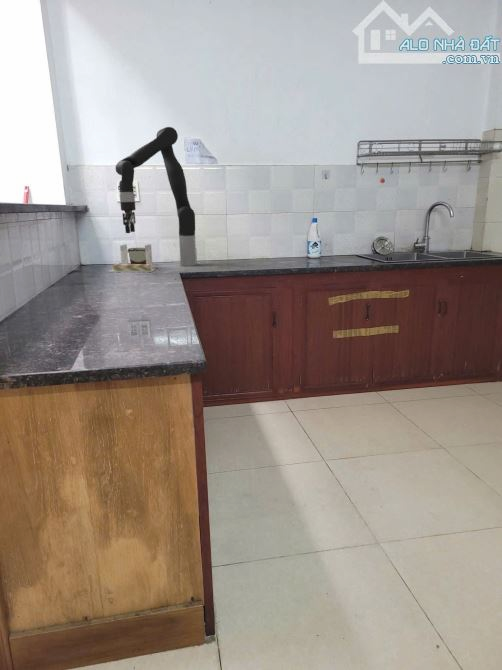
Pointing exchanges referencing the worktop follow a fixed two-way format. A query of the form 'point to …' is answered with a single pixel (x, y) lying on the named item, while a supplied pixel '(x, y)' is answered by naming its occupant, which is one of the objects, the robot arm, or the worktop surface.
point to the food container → (137, 255)
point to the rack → (147, 251)
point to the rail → (131, 267)
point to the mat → (132, 271)
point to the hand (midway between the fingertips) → (130, 232)
